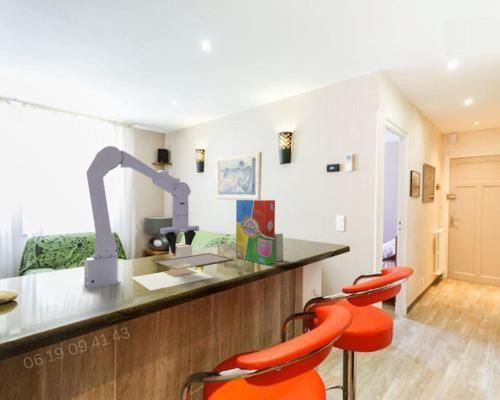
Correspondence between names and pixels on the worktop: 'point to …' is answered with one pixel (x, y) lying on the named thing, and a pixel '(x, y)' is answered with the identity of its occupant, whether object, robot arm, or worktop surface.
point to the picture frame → (194, 260)
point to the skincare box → (278, 246)
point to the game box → (255, 230)
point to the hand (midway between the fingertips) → (180, 252)
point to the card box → (182, 250)
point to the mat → (170, 278)
